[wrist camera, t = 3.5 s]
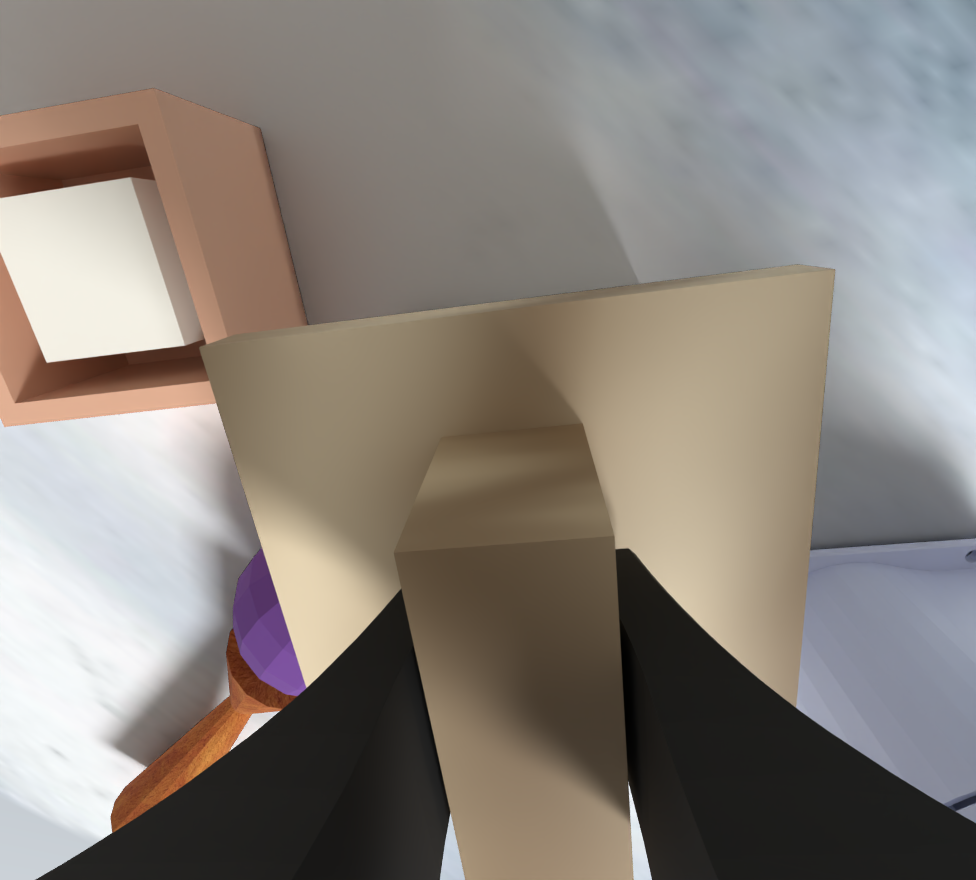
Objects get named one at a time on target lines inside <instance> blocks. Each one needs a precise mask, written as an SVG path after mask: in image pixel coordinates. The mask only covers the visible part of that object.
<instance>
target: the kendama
mask: <svg viewBox="0 0 976 880" xmlns="http://www.w3.org/2000/svg"><path fill="white" fill-rule="evenodd" d="M226 658H227V669H228V679H229V690H230V696H229V697H227V698H226V699H225V700H224V701H223V702H222V703H221V704H219V705H218V706H217V707H216V708H215V709H214V710H213V711H211V712H210V713H209V714H208V715H207V716H206V717H205V718H203V719H202V720H201V721H200V722H199V723H198V724H197V725H195V726H194V727H193V728H192V729H191V730H190V731H189V732H187V733H186V734H185V735H184V736H183V737H182V738H181V739H179V740H178V741H177V742H176V743H175V744H174V745H173V746H171V747H170V748H169V749H168V750H167V751H166V752H165V753H163V754H162V755H161V756H160V757H159V758H158V759H157V760H155V761H154V762H153V763H152V764H151V765H150V766H149V767H147V768H146V769H145V770H144V771H143V772H142V773H141V774H139V775H138V776H137V777H136V778H135V779H134V780H133V781H131V782H130V783H129V784H128V785H127V786H126V787H125V788H124V789H123V791H122V792H121V793H120V795H119V796H118V798H117V799H116V800H115V803H114V807H113V810H112V814H111V825H112V833H113V832H115V831H116V830H118V829H119V828H121V827H123V826H124V825H126V824H127V823H129V822H130V821H132V820H133V819H135V818H137V817H138V816H140V815H141V814H143V813H144V812H146V811H147V810H148V809H150V808H151V807H153V806H154V805H156V804H157V803H159V802H160V801H162V800H163V799H165V798H166V797H168V796H169V795H171V794H172V793H174V792H175V791H177V790H178V789H179V788H181V787H182V786H184V785H185V784H186V783H188V782H189V781H191V780H192V779H193V778H195V777H196V776H197V775H199V774H200V773H201V772H203V771H204V770H205V769H207V768H208V767H209V766H211V765H212V764H213V763H215V762H216V761H217V760H219V759H220V758H221V757H223V756H224V755H225V754H227V753H228V752H229V750H230V749H231V747H232V746H233V744H234V742H235V741H236V739H237V738H238V736H239V734H240V733H241V731H242V729H243V728H244V726H245V725H246V723H247V721H248V720H249V718H250V716H251V715H252V714H253V713H264V712H274V711H281V710H282V709H283V708H284V707H286V706H287V705H288V704H289V703H290V702H291V701H293V700H294V699H295V698H296V697H297V696H298V695H299V694H300V693H301V692H303V691H304V690H305V689H306V685H305V682H304V679H303V675H302V672H301V669H300V666H299V663H298V660H297V656H296V653H295V650H294V647H293V644H292V641H291V637H290V634H289V631H288V628H287V625H286V622H285V618H284V615H283V612H282V609H281V606H280V603H279V600H278V596H277V593H276V590H275V587H274V584H273V581H272V577H271V574H270V571H269V568H268V565H267V562H266V558H265V555H264V552H263V549H262V548H261V549H260V550H259V551H258V553H257V554H256V555H255V556H254V557H253V559H252V560H251V562H250V563H249V564H248V566H247V567H246V569H245V570H244V571H243V573H242V574H241V576H240V577H239V578H238V583H237V589H236V594H235V600H234V605H233V629H232V630H231V631H230V635H229V640H228V645H227V651H226Z"/></svg>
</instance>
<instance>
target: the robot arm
mask: <svg viewBox="0 0 976 880" xmlns="http://www.w3.org/2000/svg"><path fill="white" fill-rule="evenodd" d="M970 551H972V553H971V554H970V555H968V556H966V555H967V553H969V552H970ZM615 553H616V571H617V589H618V607H619V625H620V643H621V661H622V680H623V698H624V716H625V734H626V752H627V770H628V782H629V786H630V789H631V793H632V797H633V801H634V805H635V809H636V813H637V817H638V821H639V824H640V828H641V832H642V836H643V840H644V844H645V849H646V854H647V858H648V863H649V867H650V872H651V877H652V880H976V538H974V539H960V540H946V541H932V542H918V543H904V544H890V545H876V546H862V547H848V548H833V549H819V550H810V558H809V569H808V581H807V592H806V603H805V614H804V625H803V637H802V648H801V659H800V670H799V682H798V693H797V704H796V707H794V706H793V705H792V704H791V703H789V702H788V701H787V700H785V699H784V698H783V697H781V696H780V695H779V694H778V693H776V692H775V691H774V690H772V689H771V688H770V687H769V686H767V685H766V684H765V683H764V682H763V681H761V680H760V679H759V678H758V677H757V676H755V675H754V674H753V673H752V672H751V671H749V670H748V669H747V668H746V667H745V666H744V665H742V664H741V663H740V662H739V661H738V660H737V659H736V658H735V657H733V656H732V655H731V654H730V653H729V652H728V651H727V650H726V649H724V648H723V647H722V646H721V645H720V644H719V643H718V642H717V641H716V640H715V639H714V638H713V637H711V636H710V635H709V634H708V633H707V632H706V631H705V630H704V629H703V628H702V627H701V626H700V625H699V624H698V623H697V622H696V621H695V620H694V619H693V618H692V617H691V616H690V615H689V614H688V613H687V612H686V611H685V610H684V609H683V608H682V607H681V606H680V605H679V604H678V603H677V602H676V601H675V599H674V598H673V597H672V596H671V595H670V594H669V593H668V592H667V591H666V590H665V589H664V587H663V586H662V585H661V584H660V583H659V582H658V581H657V580H656V578H655V577H654V576H653V575H652V574H651V573H650V571H649V570H648V569H647V568H646V567H645V565H644V564H643V563H642V562H641V560H640V559H639V558H638V557H637V555H636V554H635V553H634V552H633V551H631V550H630V549H629V548H623V549H615ZM449 817H450V807H449V803H448V798H447V794H446V789H445V785H444V780H443V776H442V771H441V766H440V762H439V757H438V753H437V748H436V744H435V739H434V735H433V730H432V726H431V721H430V716H429V712H428V707H427V703H426V698H425V694H424V689H423V685H422V680H421V676H420V671H419V666H418V662H417V657H416V653H415V648H414V644H413V639H412V635H411V630H410V626H409V621H408V616H407V612H406V607H405V603H404V598H403V594H402V589H400V590H399V591H398V593H397V594H396V595H395V596H394V597H393V598H392V599H391V601H390V602H389V603H388V604H387V605H386V606H385V608H384V609H383V610H382V611H381V612H380V613H379V614H378V615H377V617H376V618H375V619H374V620H373V621H372V622H371V623H370V624H369V625H368V626H367V628H366V629H365V630H364V631H363V632H362V633H361V634H360V635H359V636H358V638H357V639H356V640H355V641H354V642H353V643H352V644H351V645H350V646H349V647H348V648H347V649H346V650H345V651H344V652H343V653H342V654H341V655H340V656H339V657H338V658H337V659H336V660H335V661H334V662H333V663H332V664H331V665H330V666H329V667H328V668H327V669H326V670H325V671H324V672H323V673H322V674H321V675H320V676H319V677H318V678H317V679H316V680H315V681H313V682H312V683H311V684H310V685H309V686H308V687H307V688H306V689H305V690H304V691H303V692H301V693H300V694H299V695H298V696H297V697H296V698H295V699H294V700H293V701H291V702H290V703H289V704H288V705H287V706H286V707H284V708H283V709H282V710H281V711H280V712H278V713H277V714H276V715H275V716H274V717H273V718H271V719H270V720H269V721H268V722H267V723H265V724H264V725H263V726H262V727H261V728H259V729H258V730H257V731H256V732H254V733H253V734H252V735H251V736H249V737H248V738H247V739H245V740H244V741H243V742H241V743H240V744H239V745H237V746H236V747H235V748H233V749H232V750H231V751H229V752H228V753H227V754H225V755H224V756H223V757H221V758H220V759H219V760H217V761H216V762H215V763H213V764H212V765H211V766H209V767H208V768H207V769H205V770H204V771H203V772H201V773H200V774H199V775H197V776H196V777H195V778H193V779H192V780H191V781H189V782H188V783H186V784H185V785H184V786H182V787H181V788H179V789H178V790H177V791H175V792H174V793H172V794H171V795H169V796H168V797H166V798H165V799H163V800H162V801H160V802H159V803H157V804H156V805H154V806H153V807H151V808H150V809H148V810H147V811H146V812H144V813H143V814H141V815H140V816H138V817H137V818H135V819H133V820H132V821H130V822H129V823H127V824H126V825H124V826H123V827H121V828H119V829H118V830H116V831H115V832H113V833H112V834H110V835H108V836H107V837H105V838H104V839H102V840H101V841H99V842H98V843H96V844H94V845H93V846H91V847H90V848H88V849H86V850H85V851H83V852H81V853H80V854H78V855H77V856H75V857H73V858H72V859H70V860H68V861H67V862H65V863H64V864H62V865H60V866H58V867H57V868H55V869H53V870H51V871H50V872H48V873H46V874H45V875H43V876H41V877H39V878H38V879H36V880H440V873H441V866H442V859H443V852H444V845H445V839H446V834H447V828H448V823H449Z"/></svg>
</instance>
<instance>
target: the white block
mask: <svg viewBox="0 0 976 880" xmlns="http://www.w3.org/2000/svg"><path fill="white" fill-rule="evenodd" d="M0 253H1V255H2V257H3V260H4V262H5V265H6V267H7V269H8V272H9V274H10V276H11V279H12V281H13V284H14V286H15V288H16V291H17V293H18V296H19V298H20V300H21V303H22V305H23V307H24V310H25V312H26V315H27V317H28V319H29V322H30V324H31V327H32V329H33V331H34V334H35V336H36V339H37V341H38V343H39V346H40V348H41V350H42V353H43V355H44V358H45V360H46V362H47V363H48V362H56V361H64V360H72V359H80V358H88V357H96V356H104V355H113V354H121V353H129V352H137V351H145V350H153V349H161V348H169V347H177V346H185V345H188V344H191V343H194V342H197V341H200V340H203V339H205V338H204V334H203V331H202V328H201V325H200V321H199V318H198V315H197V312H196V309H195V305H194V302H193V299H192V296H191V293H190V289H189V286H188V283H187V280H186V276H185V273H184V270H183V267H182V264H181V260H180V257H179V254H178V251H177V248H176V244H175V241H174V238H173V235H172V231H171V228H170V225H169V222H168V219H167V215H166V212H165V209H164V206H163V203H162V199H161V196H160V193H159V190H158V187H157V183H156V181H155V180H147V179H140V178H132V177H129V178H123V179H117V180H110V181H104V182H98V183H92V184H86V185H80V186H73V187H67V188H61V189H55V190H49V191H42V192H36V193H30V194H24V195H18V196H11V197H5V198H0Z"/></svg>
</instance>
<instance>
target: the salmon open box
mask: <svg viewBox="0 0 976 880" xmlns="http://www.w3.org/2000/svg"><path fill="white" fill-rule="evenodd" d="M129 177H132V178H140V179H147V180H155V181H156V183H157V187H158V190H159V193H160V196H161V199H162V203H163V206H164V209H165V212H166V215H167V219H168V222H169V225H170V228H171V231H172V235H173V238H174V241H175V244H176V248H177V251H178V254H179V257H180V260H181V264H182V267H183V270H184V273H185V276H186V280H187V283H188V286H189V289H190V293H191V296H192V299H193V302H194V305H195V309H196V312H197V315H198V318H199V321H200V325H201V328H202V331H203V334H204V338H205V339H203V340H200V341H197V342H194V343H191V344H188V345H185V346H177V347H169V348H161V349H153V350H145V351H137V352H129V353H121V354H113V355H104V356H96V357H88V358H80V359H72V360H64V361H56V362H48V363H47V362H46V360H45V358H44V355H43V353H42V350H41V348H40V346H39V343H38V341H37V339H36V336H35V334H34V331H33V329H32V327H31V324H30V322H29V319H28V317H27V315H26V312H25V310H24V307H23V305H22V303H21V300H20V298H19V296H18V293H17V291H16V288H15V286H14V284H13V281H12V279H11V276H10V274H9V272H8V269H7V267H6V265H5V262H4V260H3V257H2V255H1V253H0V418H1V420H2V423H3V425H4V427H7V426H16V425H25V424H34V423H43V422H52V421H61V420H70V419H79V418H88V417H97V416H106V415H115V414H125V413H134V412H143V411H152V410H161V409H170V408H179V407H188V406H197V405H206V404H215V403H216V400H215V397H214V394H213V391H212V388H211V384H210V381H209V378H208V375H207V372H206V369H205V365H204V362H203V359H202V356H201V353H200V350H199V347H201V346H204V345H207V344H210V343H212V342H215V341H218V340H221V339H224V338H226V337H229V336H232V335H235V334H243V333H251V332H259V331H267V330H275V329H283V328H291V327H299V326H307V325H308V323H307V319H306V315H305V311H304V306H303V302H302V298H301V294H300V290H299V286H298V282H297V278H296V274H295V269H294V265H293V261H292V257H291V253H290V249H289V245H288V241H287V236H286V232H285V228H284V224H283V220H282V216H281V212H280V208H279V204H278V199H277V195H276V191H275V187H274V183H273V179H272V175H271V171H270V166H269V162H268V158H267V154H266V150H265V146H264V142H263V138H262V133H261V129H260V128H258V127H256V126H253V125H250V124H248V123H245V122H242V121H240V120H237V119H234V118H232V117H229V116H227V115H224V114H221V113H219V112H216V111H213V110H211V109H208V108H205V107H203V106H200V105H198V104H195V103H192V102H190V101H187V100H184V99H182V98H179V97H176V96H174V95H171V94H169V93H166V92H163V91H161V90H158V89H155V88H151V89H146V90H140V91H135V92H129V93H123V94H118V95H112V96H107V97H101V98H96V99H90V100H85V101H79V102H73V103H68V104H62V105H57V106H51V107H46V108H40V109H34V110H29V111H23V112H18V113H12V114H7V115H1V116H0V198H5V197H11V196H18V195H24V194H30V193H36V192H42V191H49V190H55V189H61V188H67V187H73V186H80V185H86V184H92V183H98V182H104V181H110V180H117V179H123V178H129Z"/></svg>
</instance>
